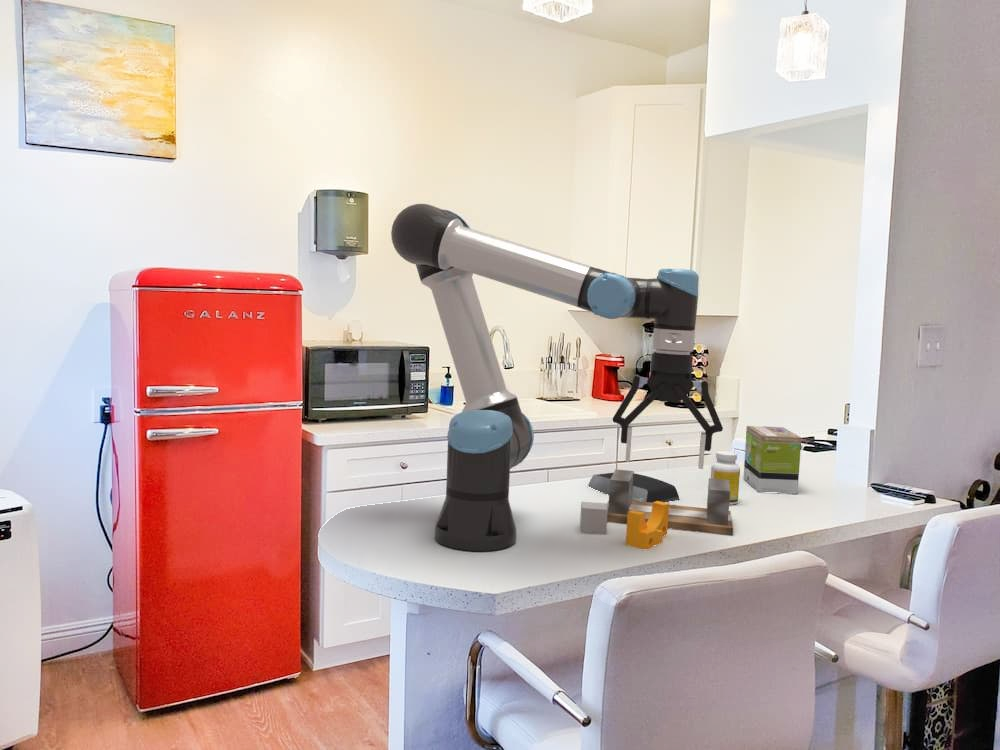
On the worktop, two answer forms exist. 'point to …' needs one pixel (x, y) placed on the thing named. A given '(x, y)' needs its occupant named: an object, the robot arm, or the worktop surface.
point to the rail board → (673, 506)
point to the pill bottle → (727, 472)
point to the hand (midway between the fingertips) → (663, 464)
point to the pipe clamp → (647, 526)
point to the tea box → (772, 459)
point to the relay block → (593, 518)
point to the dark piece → (639, 488)
